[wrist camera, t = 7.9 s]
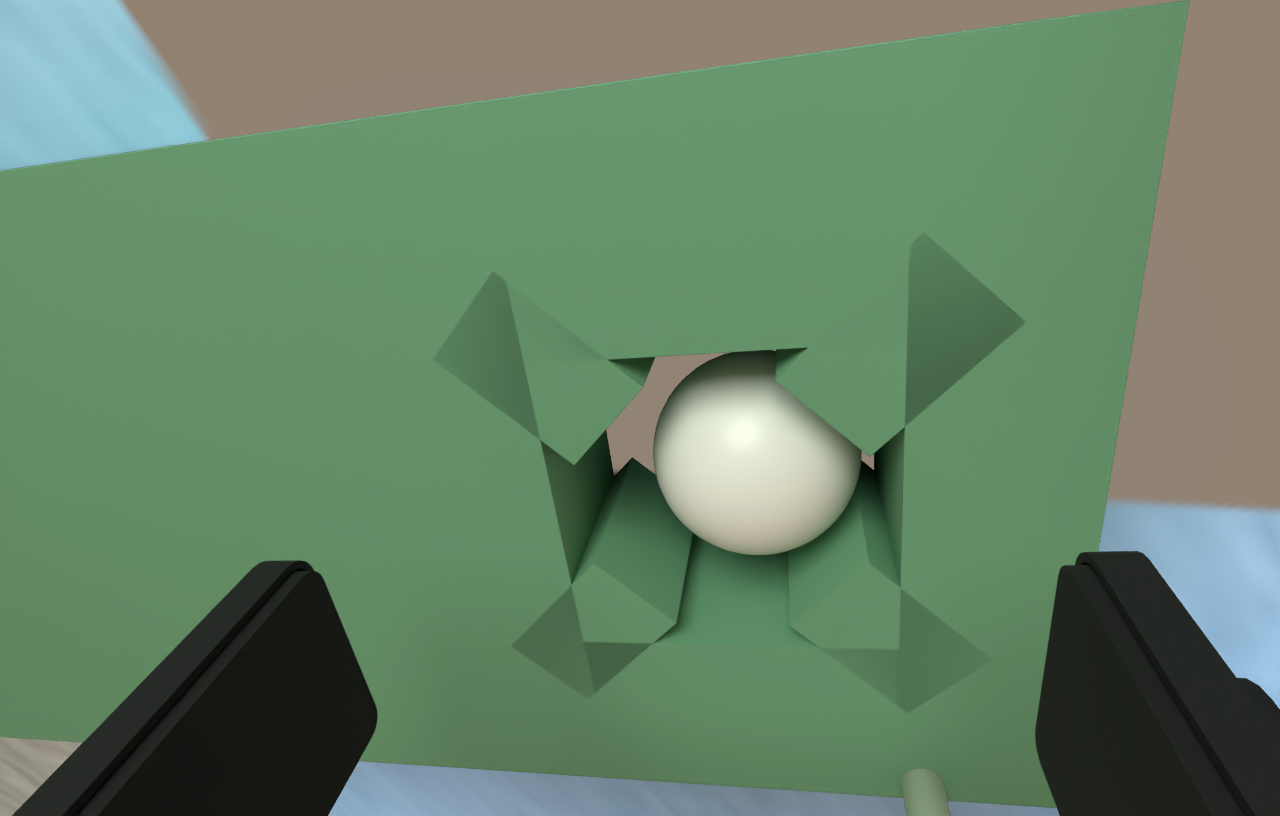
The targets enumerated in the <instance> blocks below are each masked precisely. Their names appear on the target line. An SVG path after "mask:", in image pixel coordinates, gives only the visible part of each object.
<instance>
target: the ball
mask: <svg viewBox="0 0 1280 816" xmlns="http://www.w3.org/2000/svg"><path fill="white" fill-rule="evenodd" d="M775 377H776V351H773V350H758V351H741V352H731V353H727V354H724V355H721V356H719V357H717V358H714V359H712V360H709V361H707V362H706V363H704V364H702V365H701V366H699V367H697V368H696V369H695V370H694V371H692V372H691V373H690V374H689V375H688V376H686V377H685V378H684V379H683V380H682V381H681V383H679V385H678V386H677V387H676V388H675V389H674V391H673V392H672V394H671V395H670V396H669V398H668V400H667V402H666V404H665V406H664V407H663V410H662V412H661V414H660V417H659V420H658V423H657V426H656V432H655V437H654V449H653V454H654V455H653V457H654V466H655V472H656V476H657V480H658V483H659V486H660V489H661V491H662V493H663V495H664V497H665V500H666V502H667V503H668V505H669V507H670V508H671V510H672V511H673V512H674V514H675V515H676V516H677V517H678V519H679V520H680V521H681V522H682V523H683V524H684V525H685V526H686V527H687V528H688V529H690V530H691V531H692V532H693V533H694V534H696V535H697V536H698V537H700V538H702V539H703V540H705V541H707V542H709V543H710V544H712V545H714V546H717V547H719V548H722V549H724V550H727V551H732V552H736V553H740V554H748V555H769V554H777V553H782V552H786V551H789V550H792V549H794V548H797V547H800V546H802V545H804V544H806V543H808V542H810V541H812V540H814V539H815V538H816V537H818V536H819V535H820V534H822V533H823V532H824V531H826V530H827V529H828V528H829V527H830V526H831V525H832V524H833V523H834V522H835V521H836V520H837V519H838V518H839V516H840V515H841V514H842V512H843V511H844V510H845V508H846V506H847V504H848V503H849V501H850V499H851V497H852V495H853V493H854V490H855V487H856V484H857V481H858V478H859V473H860V467H861V449H859V448H858V447H857V446H856V445H854V444H853V443H852V442H851V441H849V440H848V439H847V438H846V437H844V436H843V435H842V434H841V433H840V432H838V431H837V430H836V429H835V428H833V427H832V426H831V425H830V424H828V423H827V422H826V421H825V420H823V419H822V418H821V417H820V416H818V415H817V414H816V413H815V412H813V411H812V410H811V409H810V408H809V407H807V406H806V405H805V404H804V403H802V402H801V401H800V400H799V399H797V398H796V397H795V396H794V395H792V394H791V393H790V392H789V391H787V390H786V389H785V388H784V387H783V386H781V385H780V384H779V383H778V382H776V381H775Z"/></svg>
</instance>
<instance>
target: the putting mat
mask: <svg viewBox="0 0 1280 816" xmlns="http://www.w3.org/2000/svg"><path fill="white" fill-rule="evenodd" d="M1188 6H1189V0H1186V1H1179V2H1171V3H1163V4H1155V5H1148V6H1140V7H1133V8H1125V9H1117V10H1109V11H1102V12H1094V13H1087V14H1079V15H1071V16H1064V17H1057V18H1050V19H1043V20H1037V21H1029V22H1022V23H1015V24H1008V25H1002V26H995V27H988V28H981V29H974V30H967V31H960V32H953V33H947V34H940V35H933V36H926V37H919V38H913V39H905V40H899V41H891V42H885V43H878V44H871V45H864V46H857V47H850V48H844V49H836V50H830V51H823V52H816V53H809V54H802V55H795V56H788V57H781V58H774V59H767V60H760V61H754V62H746V63H740V64H733V65H726V66H720V67H712V68H705V69H698V70H691V71H685V72H678V73H671V74H665V75H657V76H650V77H643V78H636V79H630V80H623V81H616V82H609V83H602V84H595V85H588V86H581V87H574V88H568V89H560V90H554V91H547V92H540V93H533V94H526V95H519V96H512V97H506V98H498V99H492V100H484V101H478V102H471V103H464V104H457V105H451V106H444V107H437V108H429V109H423V110H416V111H409V112H402V113H396V114H388V115H381V116H375V117H367V118H361V119H353V120H347V121H340V122H333V123H326V124H319V125H312V126H305V127H299V128H291V129H285V130H278V131H271V132H264V133H257V134H251V135H243V136H236V137H230V138H222V139H216V140H209V141H202V142H195V143H188V144H181V145H174V146H167V147H160V148H153V149H147V150H140V151H133V152H126V153H119V154H112V155H105V156H98V157H91V158H84V159H78V160H71V161H64V162H57V163H50V164H43V165H36V166H29V167H22V168H16V169H9V170H2V171H0V737H10V738H25V739H39V740H54V741H69V742H84V741H85V740H86V739H87V738H88V737H89V736H90V735H91V734H92V733H93V732H94V731H95V730H96V729H97V728H98V727H99V726H100V725H101V724H102V723H103V722H104V721H105V719H106V718H107V717H108V716H109V715H110V714H111V713H112V712H113V711H114V710H115V709H116V708H117V707H118V706H119V705H120V704H121V703H122V702H123V701H124V700H125V699H126V698H127V697H128V696H129V695H130V694H131V693H132V692H133V691H134V690H135V689H136V688H137V687H138V685H139V684H140V683H141V682H142V681H143V680H144V679H145V678H146V677H147V676H148V675H149V674H150V673H151V672H152V671H153V670H154V669H155V668H156V667H157V666H158V665H159V664H160V663H161V662H162V661H163V660H164V659H165V658H166V657H167V656H168V655H169V654H170V653H171V652H172V650H173V649H174V648H175V647H176V646H177V645H178V644H179V643H180V642H181V641H182V640H183V639H184V638H185V637H186V636H187V635H188V634H189V633H190V632H191V631H192V630H193V629H194V628H195V627H196V626H197V625H198V624H199V623H200V622H201V621H202V620H203V619H204V618H205V616H206V615H207V614H208V613H209V612H210V611H211V610H212V609H213V608H214V607H215V606H216V605H217V604H218V603H219V602H220V601H221V600H222V599H223V598H224V597H225V596H226V595H227V594H228V593H229V592H230V591H231V590H232V589H233V588H234V587H235V586H236V585H237V584H238V582H239V581H240V580H241V579H242V578H243V577H244V576H245V575H246V574H247V573H248V572H249V571H250V570H251V569H252V568H253V567H254V566H256V565H257V564H258V563H260V562H264V561H286V560H301V561H306V562H307V563H309V564H310V565H311V566H312V568H313V569H314V571H317V572H318V573H320V574H321V575H322V577H323V579H324V581H325V583H326V586H327V588H328V591H329V593H330V595H331V598H332V600H333V603H334V605H335V608H336V610H337V612H338V615H339V617H340V620H341V622H342V624H343V627H344V629H345V632H346V634H347V637H348V639H349V641H350V644H351V646H352V649H353V651H354V654H355V656H356V658H357V661H358V663H359V666H360V668H361V671H362V673H363V675H364V678H365V680H366V683H367V685H368V687H369V690H370V692H371V695H372V697H373V700H374V702H375V704H376V708H377V715H378V718H377V725H376V729H375V732H374V734H373V736H372V738H371V740H370V742H369V744H368V745H367V747H366V749H365V751H364V753H363V754H362V756H361V758H360V760H359V761H366V762H381V763H396V764H411V765H425V766H440V767H455V768H470V769H485V770H500V771H515V772H529V773H544V774H559V775H574V776H589V777H604V778H618V779H633V780H648V781H663V782H678V783H693V784H708V785H722V786H737V787H752V788H767V789H782V790H797V791H812V792H826V793H841V794H856V795H871V796H886V797H901V798H904V803H905V809H906V815H907V816H951V815H950V811H949V806H948V802H947V801H960V802H975V803H990V804H1005V805H1019V806H1034V807H1049V808H1056V804H1055V801H1054V799H1053V796H1052V794H1051V791H1050V788H1049V786H1048V783H1047V780H1046V778H1045V775H1044V772H1043V770H1042V767H1041V764H1040V761H1039V758H1038V754H1037V749H1036V742H1035V727H1036V721H1037V714H1038V707H1039V700H1040V694H1041V687H1042V680H1043V674H1044V667H1045V660H1046V654H1047V647H1048V640H1049V634H1050V627H1051V620H1052V613H1053V607H1054V600H1055V593H1056V587H1057V580H1058V574H1059V570H1060V569H1061V567H1062V566H1064V565H1075V562H1076V559H1077V557H1078V555H1079V554H1080V553H1082V552H1098V549H1099V543H1100V537H1101V531H1102V525H1103V519H1104V513H1105V507H1106V501H1107V495H1108V489H1109V483H1110V477H1111V471H1112V464H1113V459H1114V453H1115V447H1116V441H1117V435H1118V429H1119V423H1120V417H1121V410H1122V405H1123V398H1124V392H1125V386H1126V380H1127V373H1128V368H1129V362H1130V356H1131V350H1132V344H1133V338H1134V332H1135V326H1136V320H1137V314H1138V308H1139V302H1140V296H1141V290H1142V284H1143V278H1144V272H1145V266H1146V260H1147V254H1148V247H1149V242H1150V236H1151V230H1152V224H1153V217H1154V212H1155V205H1156V199H1157V193H1158V187H1159V181H1160V175H1161V169H1162V162H1163V156H1164V151H1165V145H1166V139H1167V133H1168V127H1169V121H1170V115H1171V109H1172V103H1173V97H1174V91H1175V85H1176V78H1177V73H1178V67H1179V61H1180V55H1181V49H1182V43H1183V36H1184V30H1185V24H1186V18H1187V12H1188ZM775 349H776V377H775V381H776V382H778V383H779V384H780V385H781V386H783V387H784V388H785V389H786V390H787V391H789V392H790V393H791V394H792V395H794V396H795V397H796V398H797V399H799V400H800V401H801V402H802V403H804V404H805V405H806V406H807V407H809V408H810V409H811V410H812V411H813V412H815V413H816V414H817V415H818V416H820V417H821V418H822V419H823V420H825V421H826V422H827V423H828V424H830V425H831V426H832V427H833V428H835V429H836V430H837V431H838V432H840V433H841V434H842V435H843V436H844V437H846V438H847V439H848V440H849V441H851V442H852V443H853V444H854V445H856V446H857V447H858V448H859V449H861V450H862V451H863V452H864V453H866V454H867V455H868V456H869V457H870V456H871V455H872V454H873V453H874V470H873V469H872V468H870V467H869V466H868V465H867V464H865V463H864V462H863V461H862V460H861V467H860V473H859V478H858V481H857V484H856V487H855V490H854V493H853V495H852V497H851V499H850V501H849V503H848V504H847V506H846V508H845V510H844V511H843V512H842V514H841V515H840V516H839V518H838V519H837V520H836V521H835V522H834V523H833V524H832V525H831V526H830V527H829V528H828V529H827V530H826V531H824V532H823V533H822V534H820V535H819V536H818V537H816V538H815V539H814V540H812V541H810V542H808V543H806V544H804V545H802V546H800V547H797V548H794V549H792V550H789V551H786V552H782V553H777V554H769V555H748V554H740V553H736V552H732V551H727V550H724V549H722V548H719V547H717V546H714V545H712V544H710V543H709V542H707V541H705V540H703V539H702V538H700V537H698V536H697V535H696V534H694V533H693V532H692V531H691V530H690V529H688V528H687V527H686V526H685V525H684V524H683V523H682V522H681V521H680V520H679V519H678V517H677V516H676V515H675V514H674V512H673V511H672V510H671V508H670V507H669V505H668V503H667V502H666V500H665V497H664V495H663V493H662V491H661V489H660V486H659V483H658V480H657V476H656V475H655V474H654V473H652V472H651V471H650V470H648V469H647V468H645V467H644V466H643V465H642V464H640V463H639V462H638V461H636V460H635V459H634V458H631V459H630V460H629V462H627V464H626V465H625V466H624V467H623V468H622V469H621V470H620V471H619V472H618V473H617V474H616V475H615V476H614V474H613V468H612V462H611V456H610V450H609V444H608V439H607V432H606V428H607V427H608V426H609V425H610V424H611V423H612V422H613V421H614V420H615V418H616V417H617V416H618V415H619V414H620V413H621V412H622V410H623V409H624V408H625V407H626V406H627V405H628V404H629V403H630V401H631V400H632V399H633V398H634V397H635V396H636V395H637V393H638V392H639V391H640V390H641V389H642V388H643V386H644V383H645V381H646V378H647V376H648V373H649V371H650V368H651V366H652V364H653V361H654V359H655V357H659V356H675V355H690V354H691V355H692V354H708V353H725V352H741V351H758V350H775Z"/></svg>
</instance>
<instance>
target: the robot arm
mask: <svg viewBox="0 0 1280 816" xmlns="http://www.w3.org/2000/svg"><path fill="white" fill-rule="evenodd" d="M377 718H378V715H377V708H376V704H375V702H374V700H373V697H372V695H371V692H370V690H369V687H368V685H367V683H366V680H365V678H364V675H363V673H362V671H361V668H360V666H359V663H358V661H357V658H356V656H355V654H354V651H353V649H352V646H351V644H350V641H349V639H348V637H347V634H346V632H345V629H344V627H343V624H342V622H341V620H340V617H339V615H338V612H337V610H336V608H335V605H334V603H333V600H332V598H331V595H330V593H329V591H328V588H327V586H326V583H325V581H324V579H323V577H322V575H321V574H320V573H318V572H317V571H314V569H313V568H312V566H311V565H310V564H309V563H307V562H306V561H301V560H286V561H264V562H260V563H258V564H257V565H256V566H254V567H253V568H252V569H251V570H250V571H249V572H248V573H247V574H246V575H245V576H244V577H243V578H242V579H241V580H240V581H239V582H238V584H237V585H236V586H235V587H234V588H233V589H232V590H231V591H230V592H229V593H228V594H227V595H226V596H225V597H224V598H223V599H222V600H221V601H220V602H219V603H218V604H217V605H216V606H215V607H214V608H213V609H212V610H211V611H210V612H209V613H208V614H207V615H206V616H205V618H204V619H203V620H202V621H201V622H200V623H199V624H198V625H197V626H196V627H195V628H194V629H193V630H192V631H191V632H190V633H189V634H188V635H187V636H186V637H185V638H184V639H183V640H182V641H181V642H180V643H179V644H178V645H177V646H176V647H175V648H174V649H173V650H172V652H171V653H170V654H169V655H168V656H167V657H166V658H165V659H164V660H163V661H162V662H161V663H160V664H159V665H158V666H157V667H156V668H155V669H154V670H153V671H152V672H151V673H150V674H149V675H148V676H147V677H146V678H145V679H144V680H143V681H142V682H141V683H140V684H139V685H138V687H137V688H136V689H135V690H134V691H133V692H132V693H131V694H130V695H129V696H128V697H127V698H126V699H125V700H124V701H123V702H122V703H121V704H120V705H119V706H118V707H117V708H116V709H115V710H114V711H113V712H112V713H111V714H110V715H109V716H108V717H107V718H106V719H105V721H104V722H103V723H102V724H101V725H100V726H99V727H98V728H97V729H96V730H95V731H94V732H93V733H92V734H91V735H90V736H89V737H88V738H87V739H86V740H85V741H84V742H83V743H82V744H81V745H80V746H79V747H78V748H77V749H76V750H75V751H74V752H73V753H72V755H71V756H70V757H69V758H68V759H67V760H66V761H65V762H64V763H63V764H62V765H61V766H60V767H59V768H58V769H57V770H56V771H55V772H54V773H53V774H52V775H51V776H50V777H49V778H48V779H47V780H46V781H45V782H44V783H43V784H42V785H41V786H40V787H39V788H38V790H37V791H36V792H35V793H34V794H33V795H32V796H31V797H30V798H29V799H28V800H27V801H26V802H25V803H24V804H23V805H22V806H21V807H20V808H19V809H18V810H17V811H16V812H15V813H14V814H13V815H12V816H328V815H329V813H330V811H331V809H332V807H333V806H334V804H335V802H336V800H337V799H338V797H339V795H340V793H341V792H342V790H343V788H344V786H345V784H346V783H347V781H348V779H349V777H350V776H351V774H352V772H353V770H354V768H355V767H356V765H357V763H358V761H359V760H360V758H361V756H362V754H363V753H364V751H365V749H366V747H367V745H368V744H369V742H370V740H371V738H372V736H373V734H374V732H375V729H376V725H377ZM1035 742H1036V749H1037V754H1038V758H1039V761H1040V764H1041V767H1042V770H1043V772H1044V775H1045V778H1046V780H1047V783H1048V786H1049V788H1050V791H1051V794H1052V796H1053V799H1054V801H1055V804H1056V807H1057V809H1058V812H1059V815H1060V816H1280V709H1279V708H1278V707H1277V705H1276V704H1275V703H1274V701H1273V700H1272V699H1271V698H1270V697H1269V696H1268V695H1267V694H1266V693H1265V692H1264V691H1263V689H1262V688H1261V687H1260V686H1258V685H1257V684H1255V683H1253V682H1252V681H1250V680H1248V679H1246V678H1236V677H1235V675H1234V674H1233V672H1232V671H1231V670H1230V668H1229V667H1228V666H1227V664H1226V663H1225V662H1224V660H1223V659H1222V658H1221V656H1220V655H1219V654H1218V652H1217V651H1216V649H1215V648H1214V647H1213V645H1212V644H1211V643H1210V641H1209V640H1208V639H1207V637H1206V636H1205V635H1204V633H1203V632H1202V630H1201V629H1200V628H1199V626H1198V625H1197V624H1196V622H1195V621H1194V620H1193V618H1192V617H1191V616H1190V614H1189V613H1188V611H1187V610H1186V609H1185V607H1184V606H1183V605H1182V603H1181V602H1180V601H1179V599H1178V598H1177V597H1176V595H1175V594H1174V593H1173V591H1172V590H1171V588H1170V587H1169V586H1168V584H1167V583H1166V582H1165V580H1164V579H1163V578H1162V576H1161V575H1160V574H1159V572H1158V571H1157V569H1156V568H1155V567H1154V565H1153V564H1152V563H1151V561H1150V560H1149V559H1148V558H1147V557H1146V556H1145V555H1144V554H1143V553H1140V552H1138V551H1121V552H1082V553H1080V554H1079V555H1078V557H1077V559H1076V562H1075V565H1064V566H1062V567H1061V569H1060V570H1059V574H1058V580H1057V587H1056V593H1055V600H1054V607H1053V613H1052V620H1051V627H1050V634H1049V640H1048V647H1047V654H1046V660H1045V667H1044V674H1043V680H1042V687H1041V694H1040V700H1039V707H1038V714H1037V721H1036V727H1035Z"/></svg>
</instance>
